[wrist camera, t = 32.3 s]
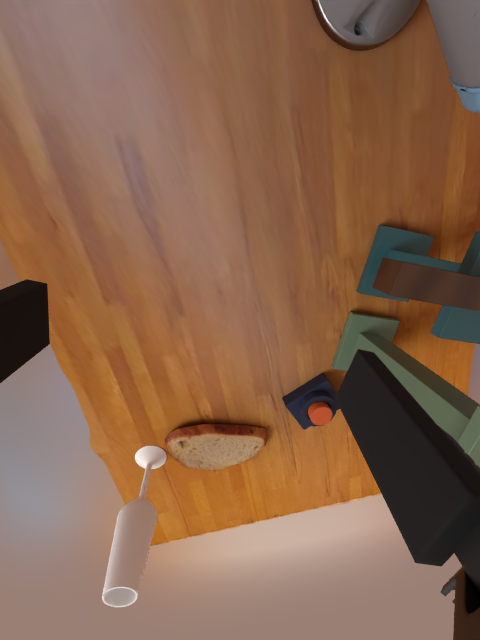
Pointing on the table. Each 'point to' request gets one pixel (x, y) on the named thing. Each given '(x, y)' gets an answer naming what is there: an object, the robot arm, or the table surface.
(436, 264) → the low stand
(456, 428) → the stand
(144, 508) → the champagne flute
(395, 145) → the table surface
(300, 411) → the push button switch
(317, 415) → the button
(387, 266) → the rectangular bar
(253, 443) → the bread slice
